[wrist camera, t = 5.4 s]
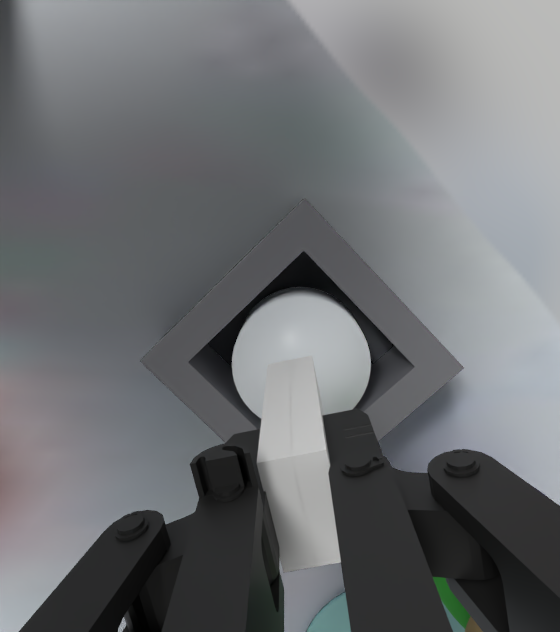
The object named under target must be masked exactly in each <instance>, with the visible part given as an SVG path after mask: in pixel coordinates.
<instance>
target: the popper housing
mask: <svg viewBox="0 0 560 632" xmlns="http://www.w3.org/2000/svg"><path fill="white" fill-rule="evenodd" d="M303 251H305V252H306V253H307V254H308V255H309V256H310V258H311V259H312V260H313V261H314V262H315V263H316V264H317V265H318V266H319V267H320V268H321V269H322V270H323V271H324V272H325V273H326V274H327V275H328V276H329V277H330V278H331V279H332V281H333V282H334V283H335V284H336V285H337V286H338V287H339V288H340V289H341V290H342V291H343V292H344V293H345V294H346V295H347V296H348V297H349V298H350V299H351V300H352V301H353V303H354V304H355V305H356V306H357V307H358V308H359V309H360V310H361V311H362V312H363V313H364V314H365V315H366V316H367V317H368V318H369V319H370V320H371V321H372V322H373V323H374V324H375V326H376V327H377V328H378V329H379V330H380V331H381V332H382V333H383V334H384V335H385V336H386V337H387V338H388V339H389V340H390V341H391V342H392V343H393V344H394V346H393V347H392V348H391V349H390V350H389V351H388V352H387V353H385V354H384V355H383V356H382V357H381V358H380V359H379V360H378V361H376V362H375V363H374V364H373V365H372V366H371V370H370V377H369V381H368V385H367V387H366V390H365V392H364V394H363V396H362V397H361V399H360V401H359V402H358V403H357V405H356V406H355V407H354V408H353V409H359V410H361V411H363V412H364V413H366V414H368V416H369V419H370V421H371V425H372V427H373V430H374V433H375V435H376V438H377V441H379V440H381V439H382V438H383V437H384V436H385V435H386V434H388V433H389V432H390V431H391V430H392V429H393V428H395V427H396V426H397V425H398V424H399V423H400V422H402V421H403V420H404V419H405V418H406V417H407V416H409V415H410V414H411V413H412V412H413V411H414V410H416V409H417V408H418V407H419V406H420V405H421V404H423V403H424V402H425V401H426V400H427V399H428V398H430V397H431V396H432V395H433V394H434V393H435V392H437V391H438V390H439V389H440V388H441V387H442V386H444V385H445V384H446V383H447V382H448V381H449V380H451V379H452V378H453V377H454V376H455V375H456V374H458V373H459V372H460V371H461V370H462V369H463V368H464V367H463V366H462V365H461V364H460V363H459V362H458V361H457V360H456V359H455V358H454V357H453V356H452V354H451V353H450V352H449V351H448V350H447V349H446V348H445V347H444V346H443V345H442V344H441V343H440V342H439V341H438V340H437V338H436V337H435V336H434V335H433V334H432V333H431V332H430V331H429V330H428V329H427V328H426V327H425V326H424V325H423V324H422V322H421V321H420V320H419V319H418V318H417V317H416V316H415V315H414V314H413V313H412V312H411V311H410V310H409V309H408V308H407V306H406V305H405V304H404V303H403V302H402V301H401V300H400V299H399V298H398V297H397V296H396V295H395V294H394V293H393V292H392V290H391V289H390V288H389V287H388V286H387V285H386V284H385V283H384V282H383V281H382V280H381V279H380V278H379V277H378V276H377V274H376V273H375V272H374V271H373V270H372V269H371V268H370V267H369V266H368V265H367V264H366V263H365V262H364V261H363V260H362V259H361V257H360V256H359V255H358V254H357V253H356V252H355V251H354V250H353V249H352V248H351V247H350V246H349V245H348V244H347V243H346V241H345V240H344V239H343V238H342V237H341V236H340V235H339V234H338V233H337V232H336V231H335V230H334V229H333V228H332V227H331V225H330V224H329V223H328V222H327V221H326V220H325V219H324V218H323V217H322V216H321V215H320V214H319V213H318V212H317V211H316V209H315V208H314V207H313V206H312V205H311V204H310V203H309V202H308V201H307V200H306V199H303V200H302V201H301V202H300V203H299V204H298V205H297V206H296V207H295V208H294V209H293V210H292V211H291V212H290V213H289V214H288V215H287V216H286V217H285V218H284V219H283V220H282V221H281V222H280V223H279V224H278V225H276V226H275V227H274V228H273V229H272V230H271V231H270V232H269V233H268V234H267V235H266V236H265V237H264V238H263V239H262V240H261V241H260V242H259V243H258V244H257V245H256V246H255V247H254V248H253V249H252V250H251V251H250V252H249V253H248V254H247V255H246V256H245V257H244V258H243V259H242V260H241V261H240V262H239V263H238V264H237V265H236V266H235V267H234V268H233V269H232V270H231V271H230V272H229V273H228V274H227V275H226V276H225V277H224V278H223V279H222V280H221V281H220V282H219V283H218V284H217V285H216V286H215V287H213V288H212V289H211V290H210V291H209V292H208V293H207V294H206V295H205V296H204V297H203V298H202V299H201V300H200V301H199V302H198V303H197V304H196V305H195V306H194V307H193V308H192V309H191V310H190V311H189V312H188V313H187V314H186V315H185V316H184V317H183V318H182V319H181V320H180V321H179V322H178V323H177V324H176V325H175V326H174V327H173V328H172V329H171V330H170V331H169V332H168V333H167V334H166V335H165V336H164V337H163V338H162V339H161V340H160V341H159V342H158V343H157V344H156V345H155V346H154V347H153V348H152V349H151V350H150V351H149V352H148V353H147V354H146V355H145V356H144V357H143V358H142V359H141V360H140V362H141V363H142V364H143V365H144V366H145V367H146V368H147V369H149V370H150V371H151V372H152V373H153V374H154V375H155V376H156V377H157V378H158V379H159V380H160V381H161V382H162V383H163V384H164V385H165V386H166V387H167V388H169V389H170V390H171V391H172V392H173V393H174V394H175V395H176V396H177V397H178V398H179V399H180V400H181V401H182V402H183V403H184V404H185V405H186V406H188V407H189V408H190V409H191V410H192V411H193V412H194V413H195V414H196V415H197V416H198V417H199V418H200V419H201V420H202V421H203V422H204V423H205V424H206V425H208V426H209V427H210V428H211V429H212V430H213V431H214V432H215V433H216V434H217V435H218V436H219V437H220V438H221V439H222V440H223V441H224V442H225V443H226V442H227V441H228V440H229V439H230V438H231V437H232V436H233V434H236V433H242V432H247V431H252V430H257V429H260V428H261V418H259V417H258V416H257V415H256V414H254V413H253V412H252V411H251V410H250V409H249V408H248V406H247V405H246V404H245V403H244V401H243V400H242V398H241V397H240V395H239V393H238V391H237V388H236V386H235V383H234V379H233V374H232V367H231V366H230V365H229V364H228V363H227V362H226V361H225V360H224V359H222V358H221V357H220V356H219V355H218V354H217V353H216V352H215V351H214V350H213V349H212V348H211V347H210V346H209V345H208V344H207V343H208V342H209V341H210V340H211V339H212V338H214V337H215V336H216V335H217V334H218V333H219V332H220V331H221V330H222V329H223V328H224V327H225V326H226V325H227V324H228V323H229V322H230V321H231V320H232V319H233V318H234V317H235V316H236V315H237V314H238V313H239V312H241V311H242V310H243V309H244V308H245V307H246V306H247V305H248V304H249V303H250V302H251V301H252V300H253V299H254V298H255V297H256V296H257V295H258V294H259V293H260V292H261V291H262V290H263V289H264V288H265V287H266V286H268V285H269V284H270V283H271V282H272V281H273V280H274V279H275V278H276V277H277V276H278V275H279V274H280V273H281V272H282V271H283V270H284V269H285V268H286V267H287V266H288V265H289V264H290V263H291V262H292V261H293V260H295V259H296V258H297V257H298V256H299V255H300V254H301V253H302V252H303ZM353 409H352V410H353Z"/></svg>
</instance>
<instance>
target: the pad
mask: <svg viewBox="0 0 560 632" xmlns="http://www.w3.org/2000/svg"><path fill="white" fill-rule="evenodd" d="M441 601H442V600H441ZM442 603H443V602H442ZM443 606H444V609H445V611H446V614H447V617H448V619H449V622H450V625H451V627H452V630H453V632H465V629H464V628H463V627H462V626H461V625H460V624H459V622H458V621H457V620H456V619H455V618H454V617H453V616H452V614H451V613H450V612H449V610H448V609H447V608H446V606H445V605H444V604H443ZM306 632H351V629H350V622H349V615H348V608H347V601H346V594H345V592H343V593H342V594H340V595H339V596H337V597H336V598H334V599H333V600H331V601H330V602H329V603H328V604H327V605H326V606H324V607H323V608H322V609H321V611H320V612H319V613H318V614H317V615H316V616H315V618H314V619H313V621H312V622H311V624H310V625H309V627H308V629H307V631H306Z"/></svg>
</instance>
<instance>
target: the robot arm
mask: <svg viewBox="0 0 560 632" xmlns="http://www.w3.org/2000/svg"><path fill="white" fill-rule="evenodd" d="M190 466H191V470H192V473H193V477H194V481H195V484H196V488H197V491H198V495H199V501H198V504H197V508H196V511H195V512H194V513H193V514H191V515H189V516H186V517H184V518H182V519H179V520H177V521H174V522H171V523H169V524H166V525H165V521H164V518H163V515H162V514H160V513H159V512H157V511H151V510H145V511H136V512H133V513H131V514H127V515H125V516H123V517H122V518H121V519H119V520H117V521H116V522H114V523H113V524H112V525H111V526H109V527H108V528H107V529H106V530H105V531H104V532H103V533H102V535H101V536H100V537H99V538H98V539H97V541H96V542H95V543H94V544H93V545H92V546H91V548H90V549H89V550H88V551H87V552H86V553H85V555H84V556H83V557H82V558H81V559H80V561H79V562H78V563H77V564H76V565H75V566H74V568H73V569H72V570H71V571H70V572H69V573H68V575H67V576H66V577H65V578H64V579H63V580H62V582H61V583H60V584H59V585H58V586H57V588H56V589H55V590H54V591H53V592H52V593H51V595H50V596H49V597H48V598H47V599H46V600H45V602H44V603H43V604H42V605H41V606H40V607H39V609H38V610H37V611H36V612H35V613H34V615H33V616H32V617H31V618H30V619H29V620H28V622H27V623H26V624H25V625H24V626H23V627H22V629H21V630H20V631H19V632H118V628H119V625H120V623H121V621H122V618H123V617H124V618H125V621H126V624H127V625H126V627H125V629H124V630H123V632H284V587H283V583H282V579H281V575H280V571H279V556H280V560H281V564H282V568H283V572H284V573H285V572H290V571H296V570H302V569H307V568H313V567H319V566H324V565H330V564H336V563H341V566H342V573H343V580H344V587H345V594H346V601H347V608H348V615H349V622H350V629H351V632H453V630H452V627H451V625H450V622H449V619H448V617H447V614H446V611H445V609H444V606H443V603H442V601H441V598H440V595H439V593H438V590H437V587H436V585H435V582H434V579H433V577H441V578H446V582H447V584H448V586H449V588H450V590H451V592H452V593H453V594H454V595H455V597H456V598H457V599H458V601H459V602H460V603H461V604H462V606H463V607H464V608H465V609H466V611H467V612H468V613H469V615H470V616H471V617H472V618H473V620H474V621H475V622H476V623H477V625H478V626H479V627H480V629H481V630H482V631H483V632H560V506H559V505H558V504H556V503H555V502H553V501H552V500H551V499H549V498H548V497H546V496H545V495H544V494H542V493H541V492H539V491H538V490H537V489H535V488H534V487H532V486H531V485H530V484H528V483H527V482H525V481H524V480H523V479H521V478H520V477H518V476H517V475H516V474H514V473H513V472H511V471H510V470H509V469H507V468H506V467H504V466H503V465H502V464H500V463H499V462H497V461H496V460H495V459H493V458H492V457H490V456H488V455H486V454H484V453H482V452H477V451H472V450H465V449H462V450H453V451H450V452H445V453H443V454H440V455H438V456H436V457H434V458H433V459H432V460H431V461H430V462H429V464H428V470H427V471H428V473H411V472H404V471H400V470H397V469H395V468H392V467H391V465H390V462H389V461H388V460H387V458H386V457H385V456H383V454H382V451H381V449H380V446H379V443H378V441H377V438H376V435H375V433H374V430H373V427H372V425H371V421H370V419H369V416H368V414H366V413H364V412H363V411H361V410H359V409H353V410H348V411H343V412H337V413H332V414H327V415H324V410H323V406H322V401H321V396H320V391H319V387H318V382H317V377H316V372H315V368H314V363H313V358H312V356H307V357H302V358H297V359H292V360H287V361H282V362H277V363H272V364H268V366H267V374H266V383H265V392H264V401H263V410H262V419H261V428H260V429H257V430H252V431H247V432H242V433H236V434H233V436H232V437H231V438H230V439H229V440H228V441H227V442H226V443H225V444H222V445H218V446H215V447H212V448H209V449H207V450H205V451H203V452H201V453H200V454H199V455H197V456H196V457H195V458H194V459H193V460H192V462H191V463H190Z"/></svg>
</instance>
